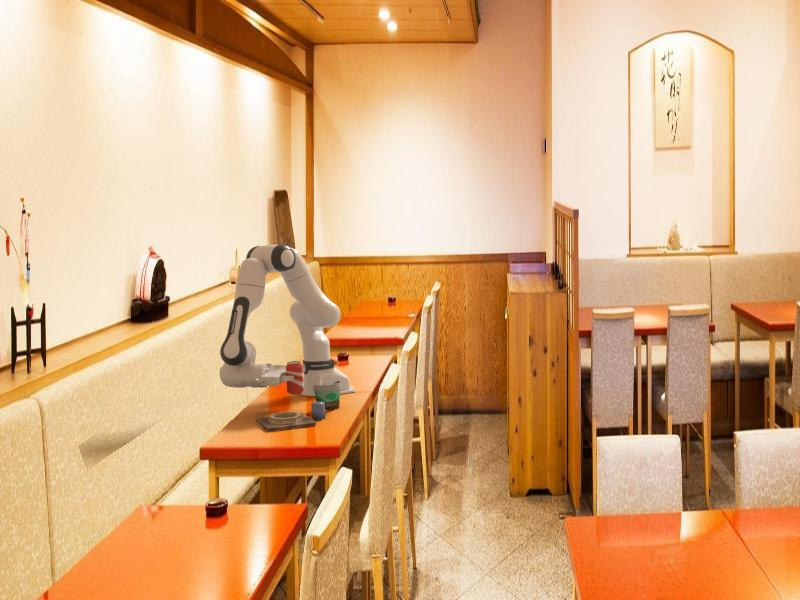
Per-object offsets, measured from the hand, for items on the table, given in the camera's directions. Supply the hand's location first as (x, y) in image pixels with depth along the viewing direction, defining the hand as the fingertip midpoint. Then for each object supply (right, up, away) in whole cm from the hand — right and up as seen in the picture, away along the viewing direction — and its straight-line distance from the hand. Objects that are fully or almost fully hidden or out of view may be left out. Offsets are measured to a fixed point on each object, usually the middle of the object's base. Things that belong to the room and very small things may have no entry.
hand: (296, 375), depth 380 cm
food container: (+13, -14, +7) cm, 20 cm away
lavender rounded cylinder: (+9, -15, -9) cm, 20 cm away
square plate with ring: (-3, -16, -14) cm, 22 cm away
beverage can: (-1, -7, +1) cm, 7 cm away
